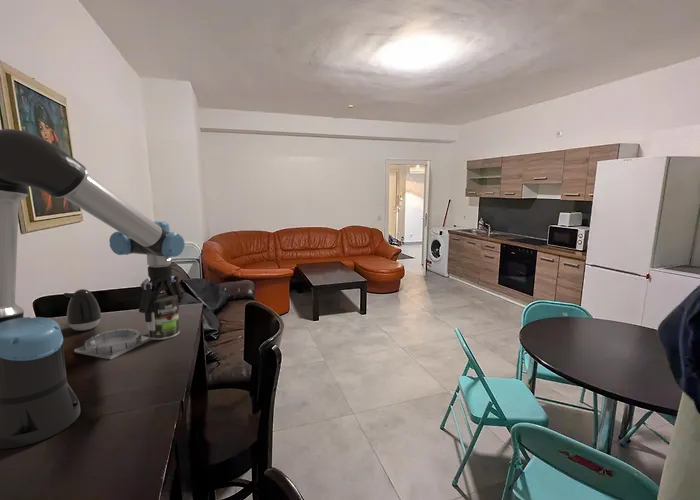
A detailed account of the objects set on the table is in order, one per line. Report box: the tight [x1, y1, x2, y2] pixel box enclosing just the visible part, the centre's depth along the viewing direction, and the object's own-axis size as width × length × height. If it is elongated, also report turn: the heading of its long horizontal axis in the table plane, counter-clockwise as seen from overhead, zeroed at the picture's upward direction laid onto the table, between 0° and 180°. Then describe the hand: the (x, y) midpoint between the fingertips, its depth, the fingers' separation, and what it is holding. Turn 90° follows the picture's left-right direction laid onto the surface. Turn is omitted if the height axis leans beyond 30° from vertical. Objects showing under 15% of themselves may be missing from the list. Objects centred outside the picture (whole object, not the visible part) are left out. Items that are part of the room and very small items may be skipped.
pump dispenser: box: [63, 288, 102, 332], centre depth 127 cm, size 10×10×15 cm
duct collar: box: [74, 328, 152, 360], centre depth 114 cm, size 15×15×3 cm
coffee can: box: [147, 293, 180, 341], centre depth 123 cm, size 10×10×14 cm
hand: (163, 324), depth 123 cm, fingers closed on coffee can, 10 cm apart
